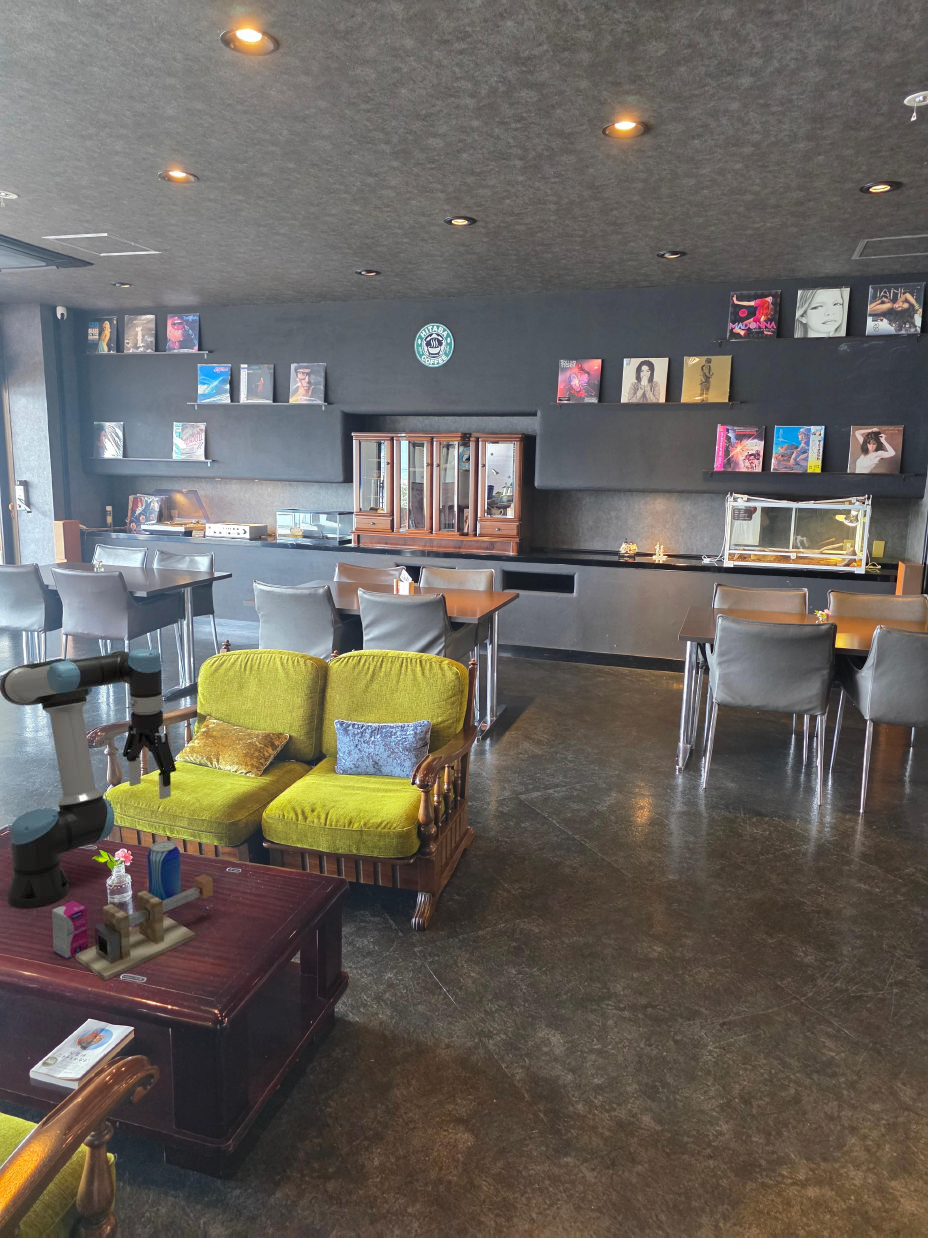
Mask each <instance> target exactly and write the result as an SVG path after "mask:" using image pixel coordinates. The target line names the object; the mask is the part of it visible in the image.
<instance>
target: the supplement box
mask: <svg viewBox="0 0 928 1238" xmlns="http://www.w3.org/2000/svg"><path fill="white" fill-rule="evenodd" d="M87 909H88V907H86V906H85V905H82V904H80V903H79V902H76V901H75V900H72V901H70V902H68V903H65V904H61V905H60V906H59V907H56V908H54V909H52V910H51V914H52V916H51V917H52V919H51V920H52V943H53V953H54V955H58V956H59V957H61V958H63V959H65V960H69V959H70V958H73V957H75V954H77V953H79V952H81V951H84V950H86V949H88V948H89V940H88V938H89V937H88V913H87V912H88V910H87Z"/></svg>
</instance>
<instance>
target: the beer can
mask: <svg viewBox="0 0 928 1238" xmlns="http://www.w3.org/2000/svg"><path fill="white" fill-rule="evenodd" d="M181 869H182V868H181V850H180V849H179V847H178V846H177V842H175V841H172V840H162V841H157V842H155V843H153V844H152V845H151V846H150V850H149V852H148V853H147V875H148V876H147V877H148V878H147V879H148V893H150V894H152V895H153V896H155V897H157V898H159V899H160V900H162V901H163V900H166V899H168V898H170V897H173V896H175V895H177V894H180V893H182V875H181V874H182V873H181Z"/></svg>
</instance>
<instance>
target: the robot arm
mask: <svg viewBox="0 0 928 1238" xmlns="http://www.w3.org/2000/svg"><path fill="white" fill-rule="evenodd" d="M162 667H163V664H162V660H161V652H160V651H158V650H157V649H154V648H140V649H139V648H138V649H134V650H131V651H130V652H129V651H126V650H116V649H114V650H111V651H109V652H108V653H106V654H105V655H99V656H98V655H97V656H92V657H84V658H76V657H75V658H73V657H72V658H59V659H54V660H48V661H47V660H46V661H40V662H35V663H27V664H22V665H18V666H16V667H14V668H12V669H10V670H8V671H7V672H6V673H4V675H3V676H2V678H1V680H0V694H1V696H2V698H3V699H4V700H6V701H7V702H8V703H11V704H13V705H17V706H34V705H40V704H41V707H42V710H43V711H44V712H46V713H47V714H48V715H49V717H50V718H49V719H50V725H51V730H52V736H53V737H52V738H53V741H54V742H53V743H54V748H55V754H56V761H57V766H58V767H57V768H58V771H59V777H60V778H59V779H60V785H61V790H62V798H61V799H60V801H59V802H58V808H59V810H56V809H55V808H51V807H44V808H37V809H33V810H30V811H27V812H25V813H23V814H21V815H20V816H18V817H17V818H16V819H15V820H14V821H13V822H12V824H11V828H10V843H11V852H12V855H11V856H12V869H13V874H12V877H11V881H10V884H9V887H8V891H7V901H8V903H9V904H10V905H11V906H12V907H15V908H19V909H33V908H39V907H45V906H48V905H50V904H54V903H55V902H57V901H60V900H62V899H64V898H65V896H67V895H68V893H69V890H70V884H69V883H70V882H69V880H68V877H67V875H66V873H65V871H64V868H63V867H62V863H61V854H64V853H66V852H70V851H73V850H77V849H79V848H81V847H85V846H89V845H94V844H97V843H98V842H100V841H103V840H106V839H107V838H108V837H109V836H111V834H112V832H113V830H114V826H115V810H114V807H113V806H112V802H111V801H110V800H109V798H104V796H103V793H102V792H100V791H98V790H97V789H96V783H95V778H94V772H93V771H94V770H93V766H92V765H93V764H92V759H91V753H90V752H91V751H90V748H89V742H88V737H87V736H88V735H87V729H86V722H85V717H84V711H83V710H84V706H85V705H86V704H87V703H88V701H87V697H88V696H89V695H90V694H91V693H92V692H93V688H95V687H96V688H97V687H101V686H102V687H103V686H109V685H114V684H120V683H125V684H127V685H129V694H130V702H129V704H130V710H131V713H130V720H131V721H130V723H131V724H129V725H128V729H127V730H128V732H127V737H126V741H125V744H124V748H123V752H122V756H123V758H126V761H127V762H128V776H129V777H128V778H129V787H134V786H138V785H141V784H142V783H141V782H142V781H141V760H140V755H141V753H142V751H143V749H144V747H145V748H146V749H147V750H148V752H151V754H152V757H153V759H154V761H155V763H156V765H157V768H158V770H159V773H158V793H159V794H158V796H159V797H158V798H159V799H160V800H164V799H167V798H171V796H172V794H171V792H172V791H171V789H172V788H171V784H172V783H171V781H172V779H171V773H174V772H176V771H177V767H176V763H175V761H174V758H173V754H172V751H171V748H170V747H171V746H170V745H169V738H168V733H167V732H165V733H160V730H159V729H160V727H161V726H163V724H164V711H163V710H162V709H163V707H164V705H163V702H164V701H163V679H162V678H163V674H162V670H163V669H162Z"/></svg>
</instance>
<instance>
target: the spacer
mask: <svg viewBox="0 0 928 1238" xmlns="http://www.w3.org/2000/svg"><path fill="white" fill-rule="evenodd" d="M94 935H95V936H94V939H95V941H94V942H95V943H94V944H95V945H96V954H98V955H99V956H100V957H102V958H103V959H105V960H106V961H108V962H109V963H110V964H112V963H115V962H117V961H119V960H121V955H120V934H119V932H118V931H116V930H115V929H113V928H111V927H110V926H108V925H107V924H105V923H104V922H103V923H101V924H98V925H95V926H94Z"/></svg>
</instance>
